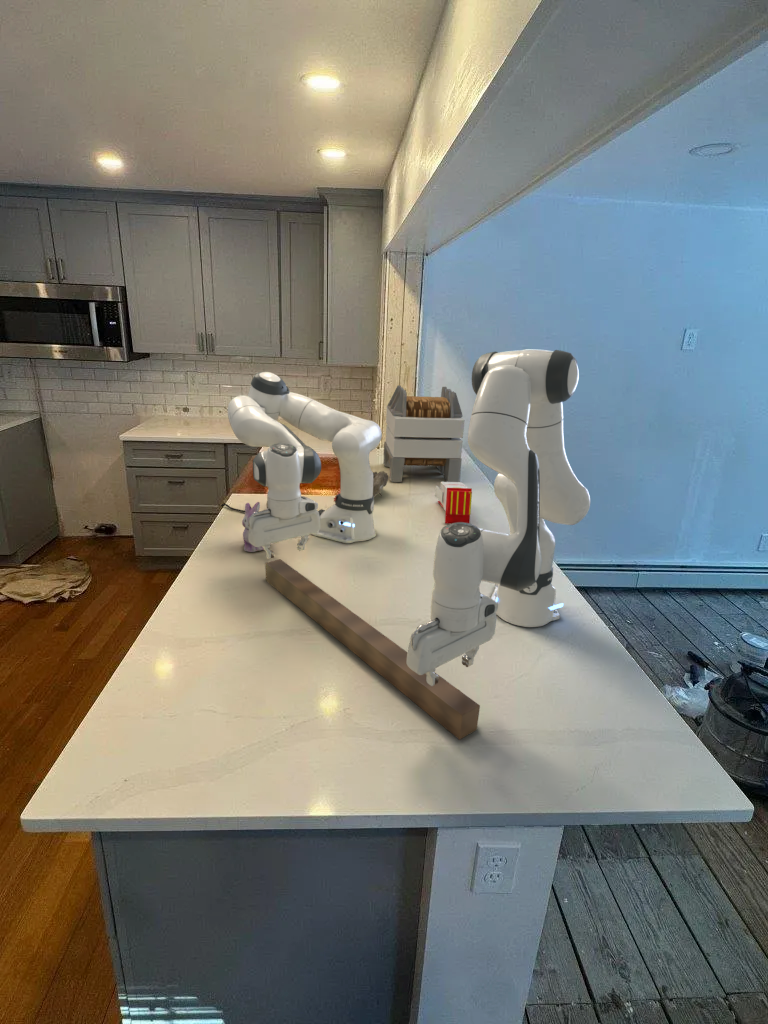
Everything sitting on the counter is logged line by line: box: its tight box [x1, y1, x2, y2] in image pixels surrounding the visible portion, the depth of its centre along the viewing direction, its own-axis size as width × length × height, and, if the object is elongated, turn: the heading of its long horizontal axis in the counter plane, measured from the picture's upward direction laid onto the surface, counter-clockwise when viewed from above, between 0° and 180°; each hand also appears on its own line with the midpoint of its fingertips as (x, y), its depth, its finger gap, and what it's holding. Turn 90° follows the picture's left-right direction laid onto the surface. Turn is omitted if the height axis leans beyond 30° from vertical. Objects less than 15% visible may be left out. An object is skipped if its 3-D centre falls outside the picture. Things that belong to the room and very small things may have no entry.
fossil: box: [372, 470, 389, 498], centre depth 237 cm, size 22×10×15 cm
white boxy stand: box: [383, 384, 465, 483], centre depth 268 cm, size 34×33×41 cm
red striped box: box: [434, 481, 473, 525], centre depth 222 cm, size 12×13×30 cm
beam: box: [264, 558, 481, 741], centre depth 134 cm, size 78×5×6 cm, turn 38°
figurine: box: [241, 501, 264, 553], centre depth 181 cm, size 9×10×15 cm
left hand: (285, 553), depth 155 cm, fingers open, 8 cm apart
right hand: (450, 673), depth 109 cm, fingers open, 8 cm apart
